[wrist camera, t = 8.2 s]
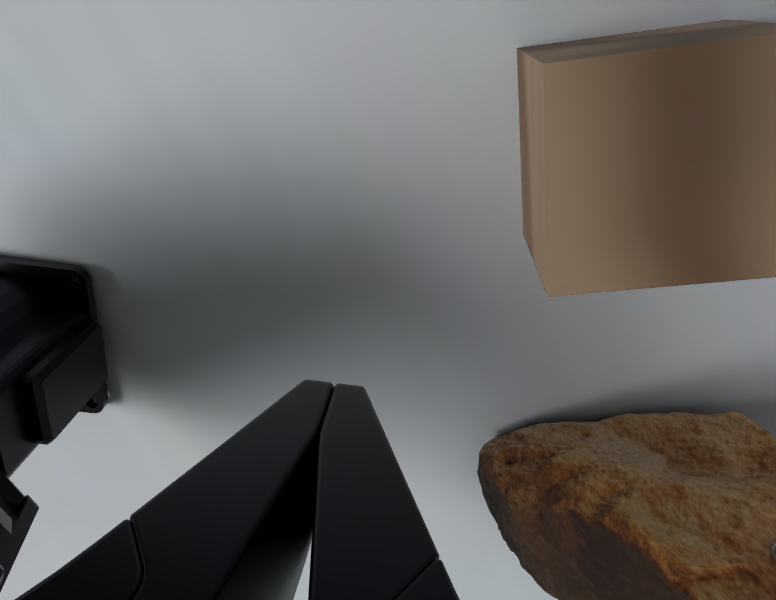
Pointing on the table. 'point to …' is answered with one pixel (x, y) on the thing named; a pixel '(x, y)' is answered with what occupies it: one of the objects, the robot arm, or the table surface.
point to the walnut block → (650, 157)
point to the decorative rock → (639, 506)
